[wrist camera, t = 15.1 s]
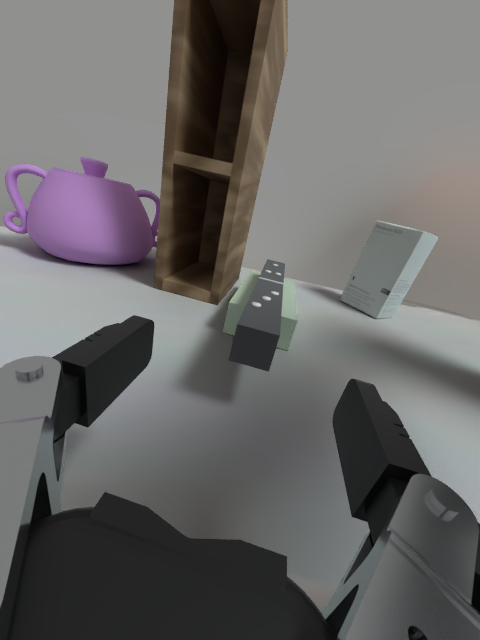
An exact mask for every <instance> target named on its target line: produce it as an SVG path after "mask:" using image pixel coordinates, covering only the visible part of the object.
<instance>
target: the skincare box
mask: <svg viewBox="0 0 480 640" xmlns="http://www.w3.org/2000/svg"><path fill="white" fill-rule="evenodd" d="M437 240H438V237H437V236H434V235H432V234H430V233H427V232H425V231H420V230H416V229H411V228H408V227H404V226H399V225H395V224H391V223H386V222H382V221H376V223H375V225H374V227H373V229H372V231H371V233H370V236H369V238H368V240H367V242H366V244H365V246H364V248H363V251H362V253H361V255H360V257H359V259H358V261H357V263H356V265H355V268H354V270H353V272H352V274H351V276H350V279H349V280H348V283H347V285H346V287H345V289H344V291H343V293H342V296H341V299H340V300H341V301H342V302H344V303H347V304H348V305H350V306H352V307H354V308H356V309H358V310H361V311H363V312H365V313H367V314H368V315H370V316H372V317H374V318H376V319H379V318H392V317H393V316H394V314H395V312H396V311H397V309H398V307H399V305H400V304H401V302H402V300H403V298H404V297H405V295H406V293H407V291H408V290H409V288H410V286H411V285H412V283H413V281H414V279H415V278H416V276H417V274H418V272H419V271H420V269H421V267H422V265H423V264H424V262H425V260H426V258H427V257H428V255H429V253H430V252H431V250H432V248H433V246H434V245H435V243H436V241H437Z"/></svg>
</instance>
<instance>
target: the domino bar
mask: <svg viewBox="0 0 480 640" xmlns="http://www.w3.org/2000/svg"><path fill="white" fill-rule="evenodd" d="M284 268H285V264H284V263H280V262H276V261H272V260H267V262H266V264H265V266H264V268H263V270H262V272H261V274H260V276H259V279H258V281H257V283H256V285H255V287H254V289H253V291H252V293H251V296H250V298H249V300H248V302H247V304H246V306H245V308H244V310H243V313H242V315H241V317H240V319H239V321H238V323H237V327H236V331H235V335H234V340H233V344H232V348H231V353H230V357H229V360H230V361H234V362H237V363H241V364H244V365H248V366H251V367H255V368H258V369H262V370H265V371H269V368H270V365H271V362H272V359H273V356H274V353H275V350H276V347H277V343H278V340H279V337H280V328H281V313H282V298H283V283H284Z"/></svg>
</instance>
